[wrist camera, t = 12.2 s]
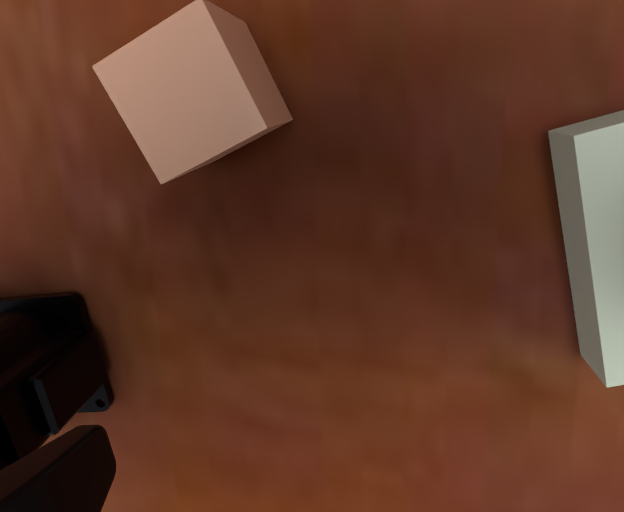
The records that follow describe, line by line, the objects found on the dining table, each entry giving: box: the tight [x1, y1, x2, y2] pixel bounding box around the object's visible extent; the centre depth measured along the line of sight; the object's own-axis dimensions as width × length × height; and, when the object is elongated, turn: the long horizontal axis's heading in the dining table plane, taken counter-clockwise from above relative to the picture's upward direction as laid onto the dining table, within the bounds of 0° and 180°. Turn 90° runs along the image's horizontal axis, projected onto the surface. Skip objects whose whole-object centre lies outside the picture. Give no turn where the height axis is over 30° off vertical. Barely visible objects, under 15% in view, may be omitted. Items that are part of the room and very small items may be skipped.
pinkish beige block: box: [92, 0, 293, 184], centre depth 17 cm, size 4×4×5 cm
